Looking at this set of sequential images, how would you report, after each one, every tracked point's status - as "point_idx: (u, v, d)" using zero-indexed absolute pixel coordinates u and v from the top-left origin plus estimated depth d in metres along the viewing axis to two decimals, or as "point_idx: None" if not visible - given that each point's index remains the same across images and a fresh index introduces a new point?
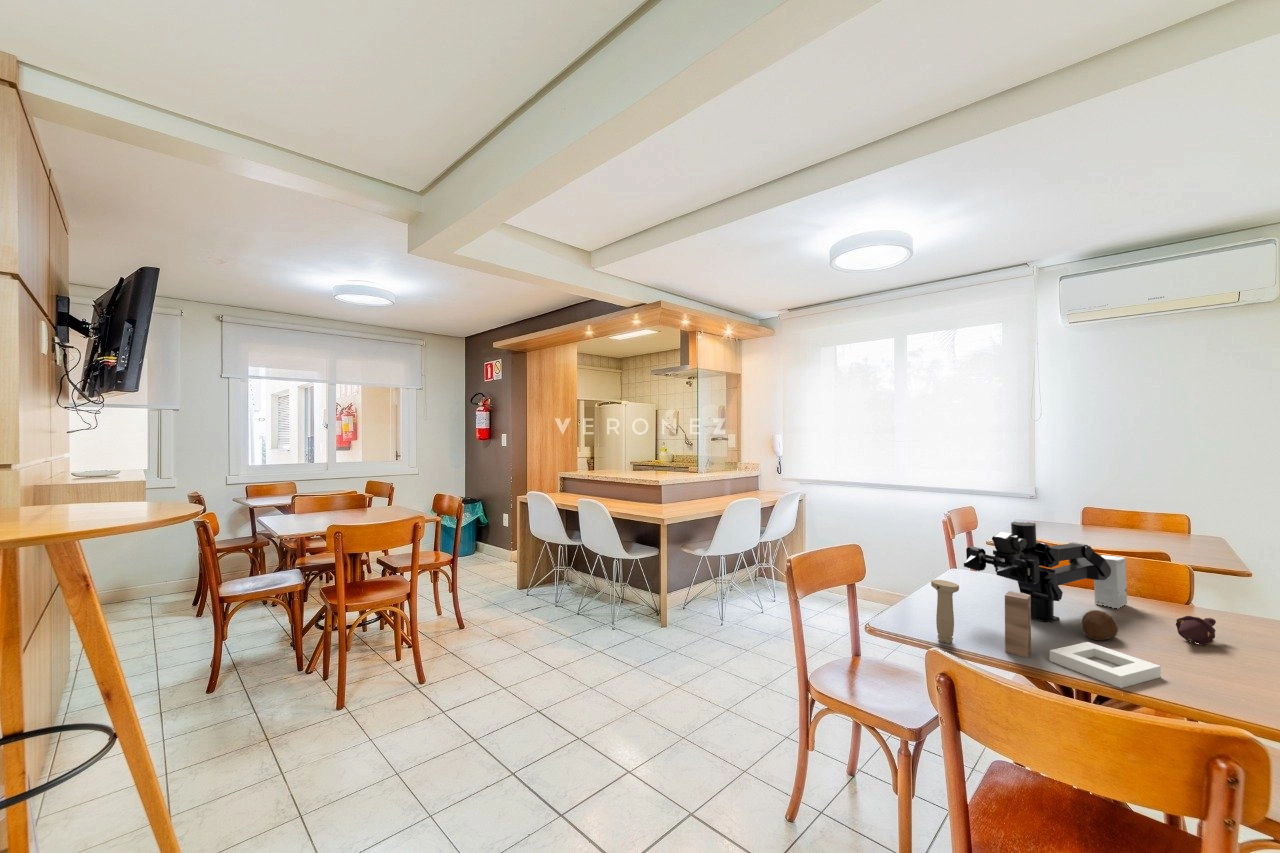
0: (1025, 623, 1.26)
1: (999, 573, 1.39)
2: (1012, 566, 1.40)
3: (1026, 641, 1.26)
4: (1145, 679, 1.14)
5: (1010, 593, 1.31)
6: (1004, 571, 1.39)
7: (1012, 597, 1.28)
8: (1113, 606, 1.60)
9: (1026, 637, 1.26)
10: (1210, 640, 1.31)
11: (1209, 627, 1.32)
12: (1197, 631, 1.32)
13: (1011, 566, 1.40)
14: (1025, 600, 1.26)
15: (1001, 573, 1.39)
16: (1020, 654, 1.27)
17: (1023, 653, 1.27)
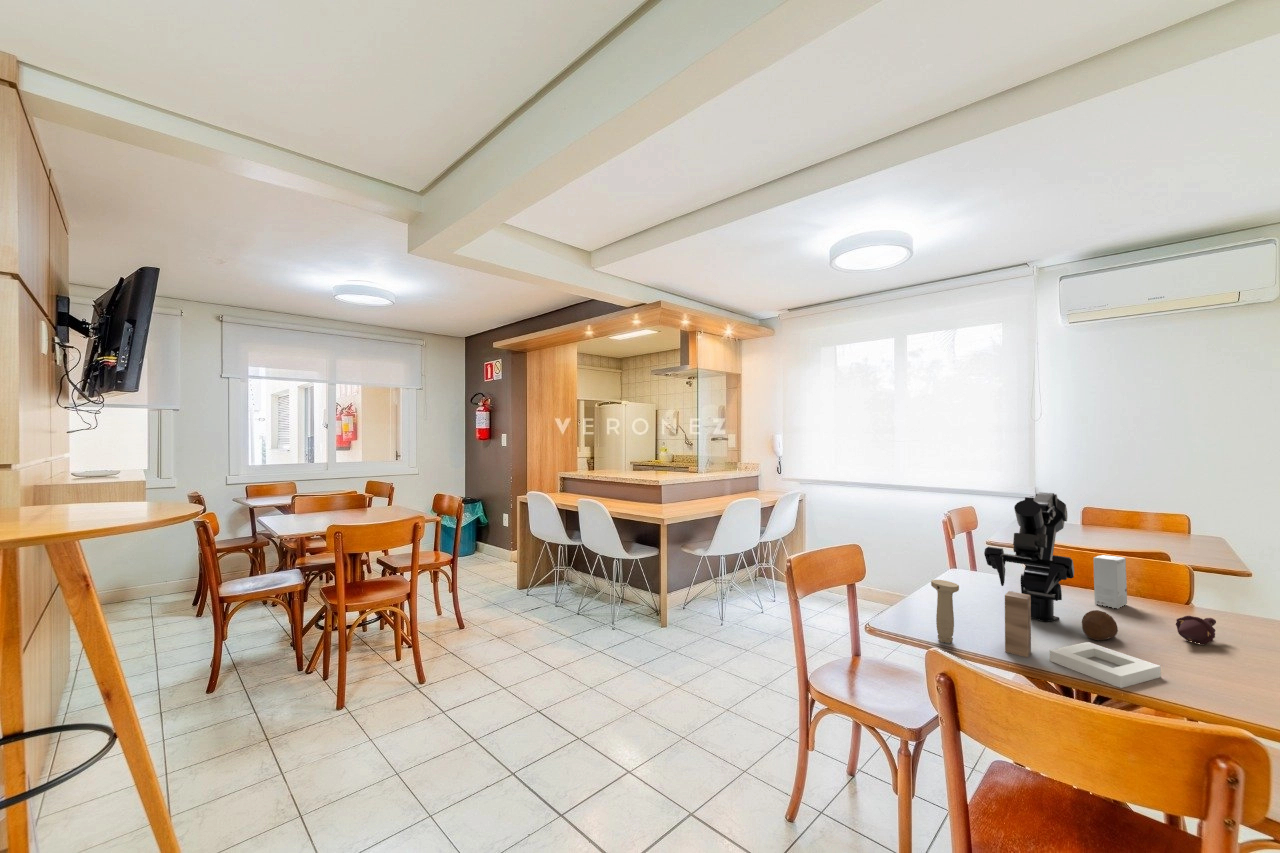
0: (1025, 623, 1.26)
1: (1047, 591, 1.32)
2: (1052, 575, 1.33)
3: (1026, 641, 1.26)
4: (1145, 679, 1.14)
5: (1010, 593, 1.31)
6: (1050, 586, 1.32)
7: (1012, 597, 1.28)
8: (1113, 606, 1.60)
9: (1026, 637, 1.26)
10: (1210, 640, 1.32)
11: (1209, 627, 1.32)
12: (1197, 631, 1.32)
13: (1051, 575, 1.33)
14: (1025, 600, 1.26)
15: (1048, 590, 1.32)
16: (1020, 654, 1.27)
17: (1023, 653, 1.27)
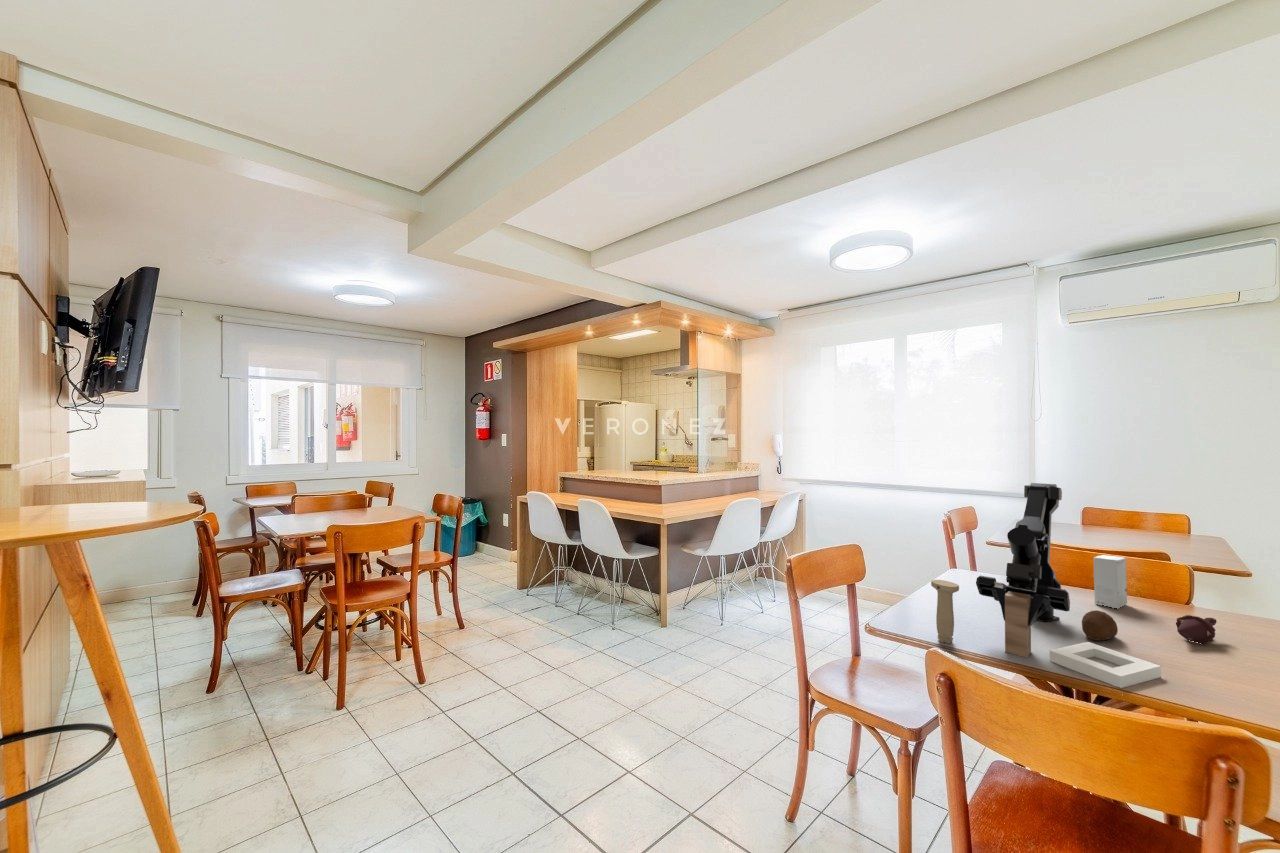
0: (1025, 623, 1.26)
1: (1030, 623, 1.27)
2: (1036, 606, 1.27)
3: (1026, 641, 1.26)
4: (1145, 679, 1.14)
5: (1010, 593, 1.31)
6: (1033, 618, 1.27)
7: (1012, 597, 1.28)
8: (1113, 606, 1.60)
9: (1026, 637, 1.26)
10: (1210, 640, 1.32)
11: (1209, 626, 1.32)
12: (1196, 631, 1.32)
13: (1034, 606, 1.28)
14: (1025, 600, 1.26)
15: (1032, 622, 1.27)
16: (1020, 654, 1.27)
17: (1023, 653, 1.27)
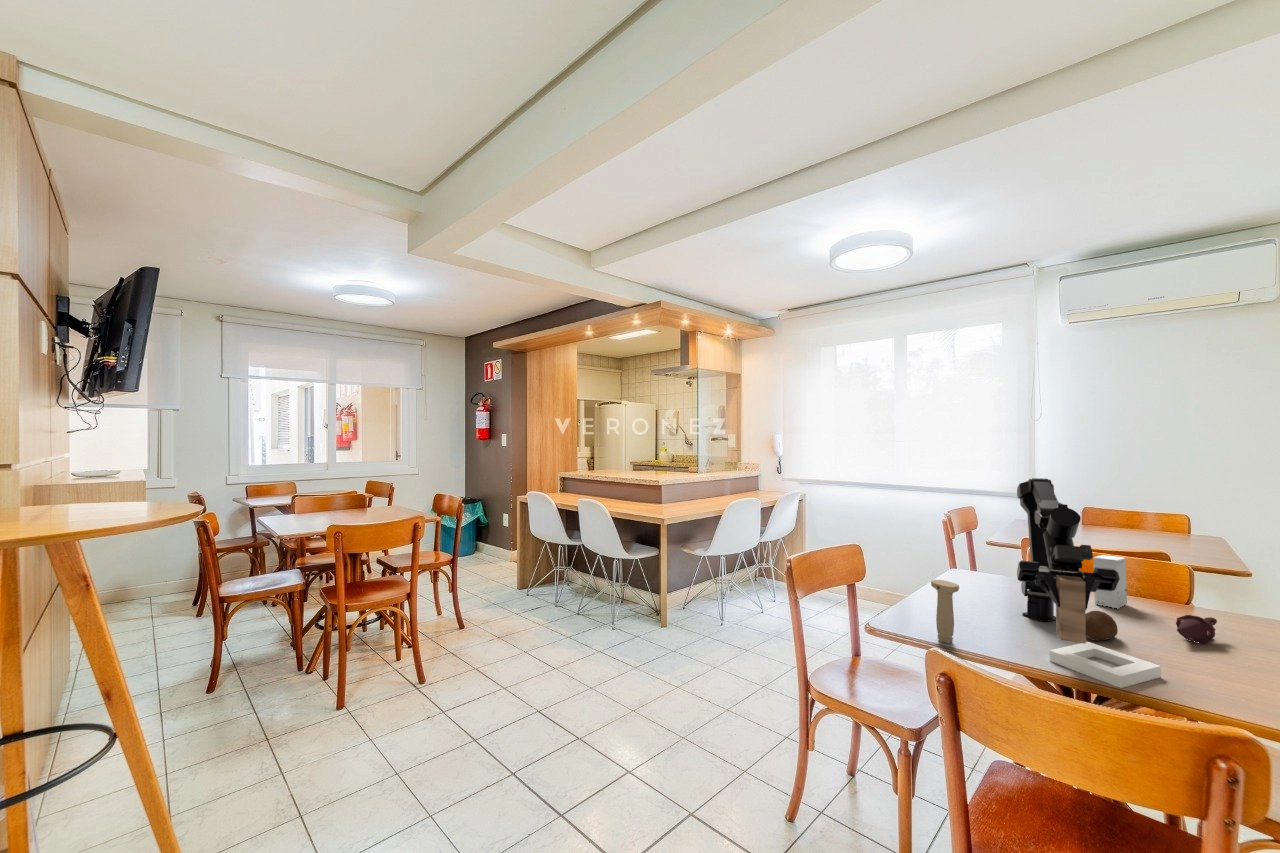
0: (1083, 607, 1.20)
1: (1086, 607, 1.21)
2: (1088, 589, 1.22)
3: (1084, 626, 1.20)
4: (1145, 679, 1.14)
5: (1061, 577, 1.24)
6: None
7: (1069, 581, 1.21)
8: (1113, 606, 1.60)
9: (1084, 622, 1.20)
10: (1209, 639, 1.32)
11: (1208, 626, 1.32)
12: (1196, 630, 1.33)
13: (1087, 588, 1.22)
14: (1083, 583, 1.20)
15: (1087, 605, 1.21)
16: (1077, 641, 1.20)
17: (1081, 639, 1.20)
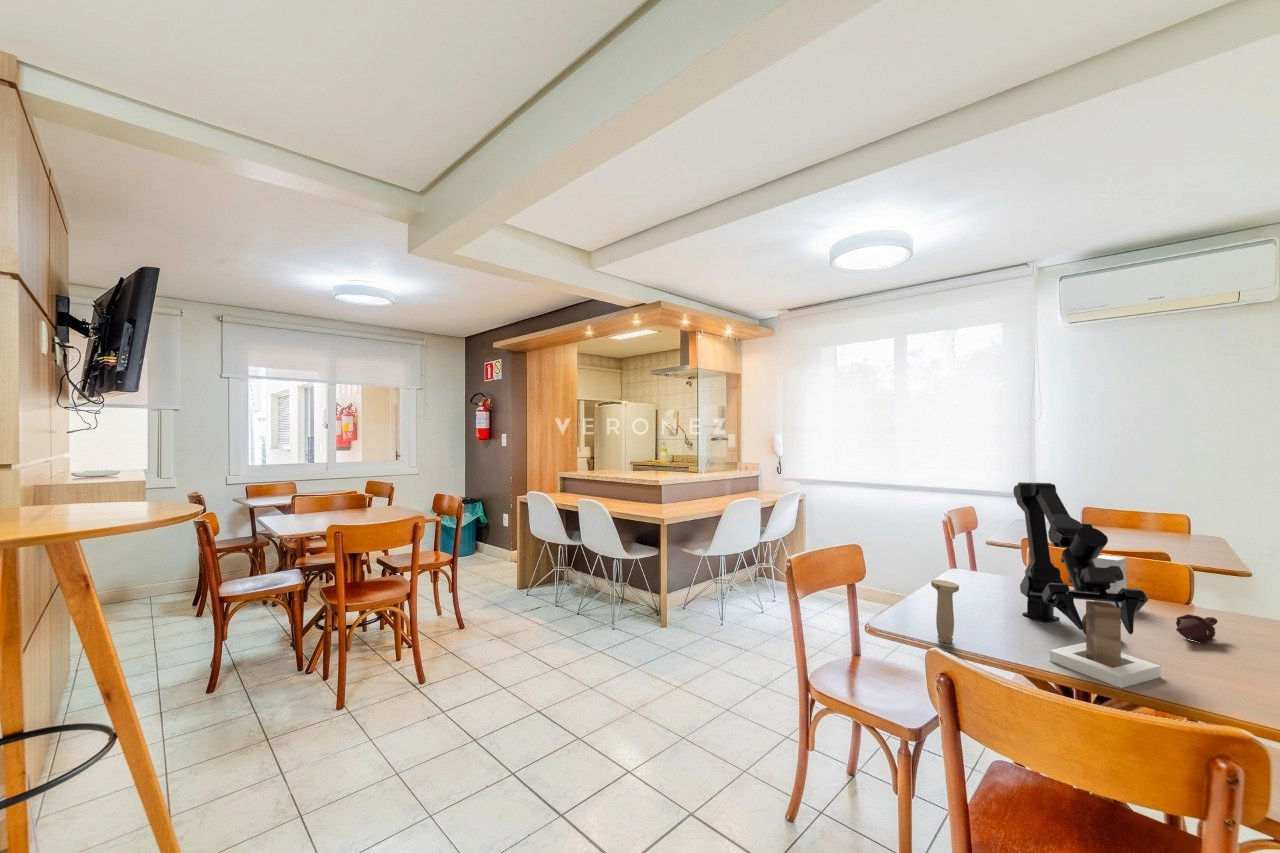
0: (1118, 635, 1.17)
1: None
2: (1131, 612, 1.19)
3: (1119, 654, 1.17)
4: (1145, 679, 1.14)
5: (1094, 603, 1.21)
6: None
7: (1104, 608, 1.18)
8: None
9: (1119, 650, 1.17)
10: (1209, 639, 1.32)
11: (1208, 626, 1.33)
12: (1195, 630, 1.33)
13: (1130, 611, 1.19)
14: (1118, 610, 1.17)
15: None
16: None
17: None
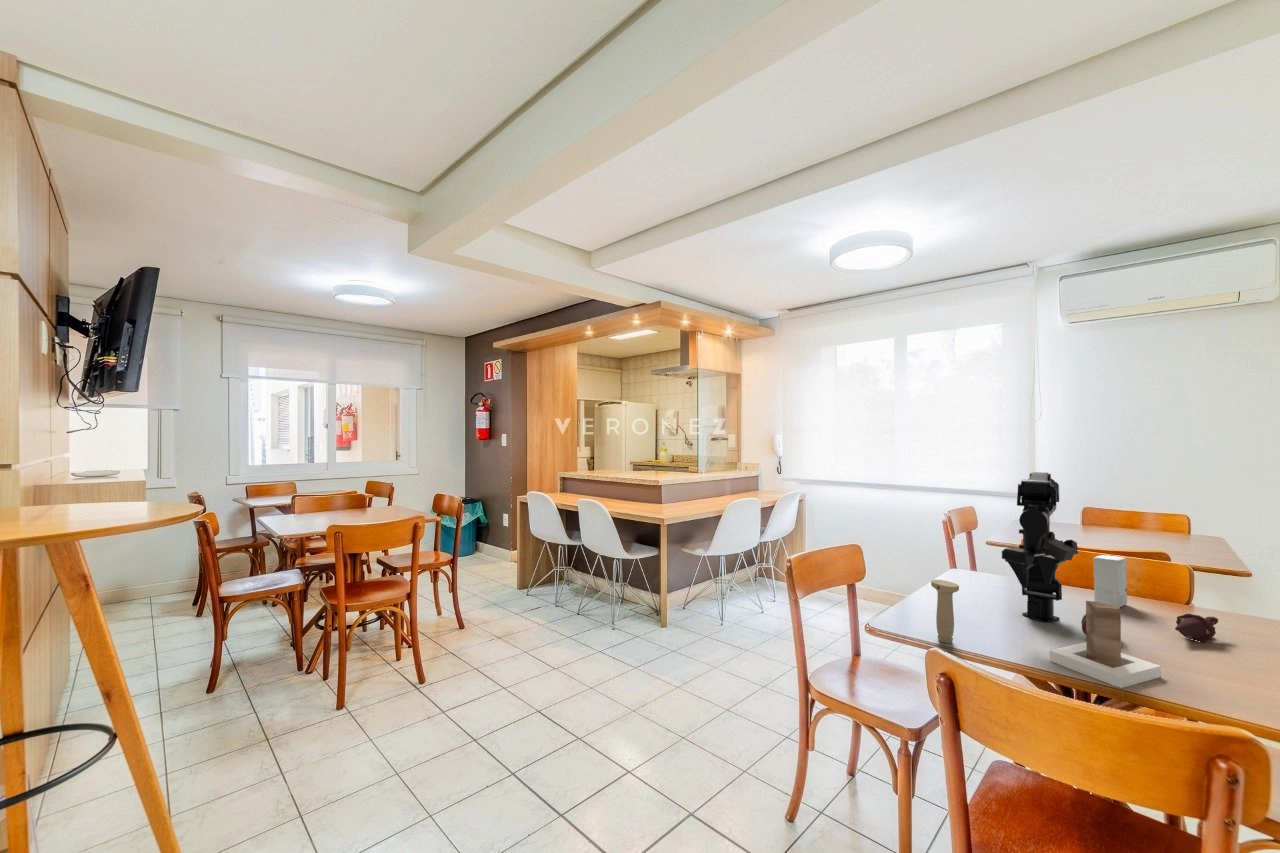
0: (1118, 635, 1.17)
1: None
2: (1056, 567, 1.41)
3: (1119, 654, 1.17)
4: (1145, 679, 1.14)
5: (1094, 603, 1.21)
6: None
7: (1104, 608, 1.18)
8: None
9: (1119, 650, 1.17)
10: (1209, 638, 1.33)
11: (1208, 625, 1.33)
12: (1195, 629, 1.34)
13: (1055, 567, 1.41)
14: (1118, 610, 1.17)
15: None
16: None
17: None
